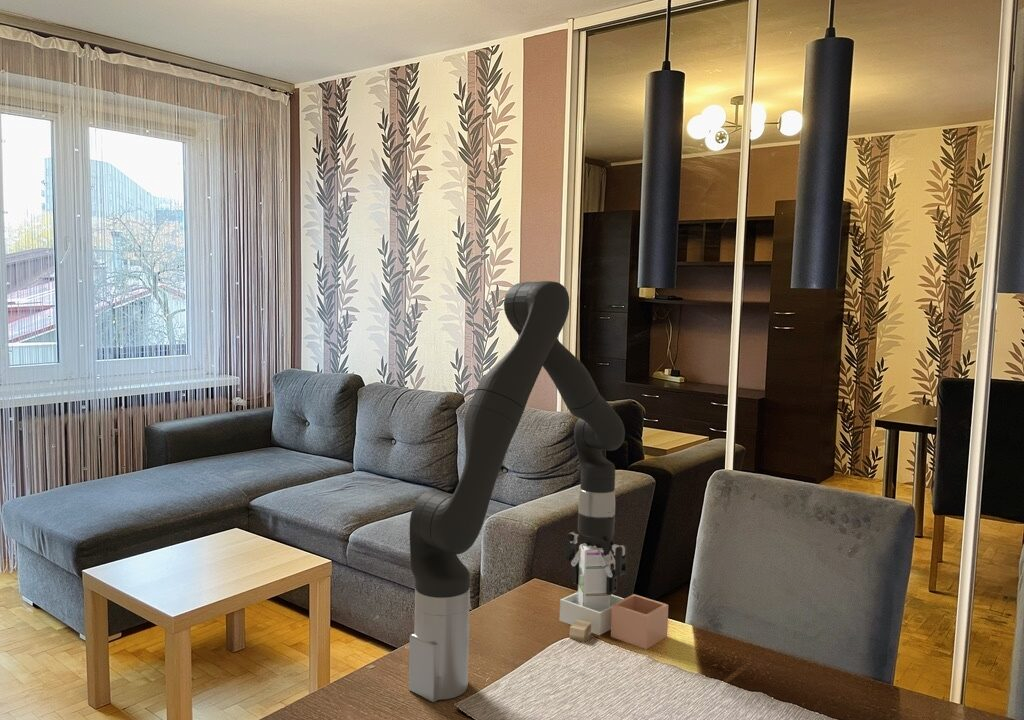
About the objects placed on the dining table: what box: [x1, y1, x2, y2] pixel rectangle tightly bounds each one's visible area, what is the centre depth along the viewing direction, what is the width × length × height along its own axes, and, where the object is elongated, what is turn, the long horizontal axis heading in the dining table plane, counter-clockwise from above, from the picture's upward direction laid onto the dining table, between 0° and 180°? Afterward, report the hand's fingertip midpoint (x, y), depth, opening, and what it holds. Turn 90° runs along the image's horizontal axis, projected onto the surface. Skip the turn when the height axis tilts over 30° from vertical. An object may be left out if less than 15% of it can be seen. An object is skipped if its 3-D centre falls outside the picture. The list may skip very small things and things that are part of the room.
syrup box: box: [577, 544, 611, 612], centre depth 153 cm, size 6×6×14 cm
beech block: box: [569, 620, 592, 642], centre depth 146 cm, size 4×3×3 cm
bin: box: [558, 591, 625, 636], centre depth 154 cm, size 10×10×5 cm
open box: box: [610, 593, 669, 650], centre depth 146 cm, size 8×8×7 cm
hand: (593, 588), depth 153 cm, fingers closed on syrup box, 7 cm apart
